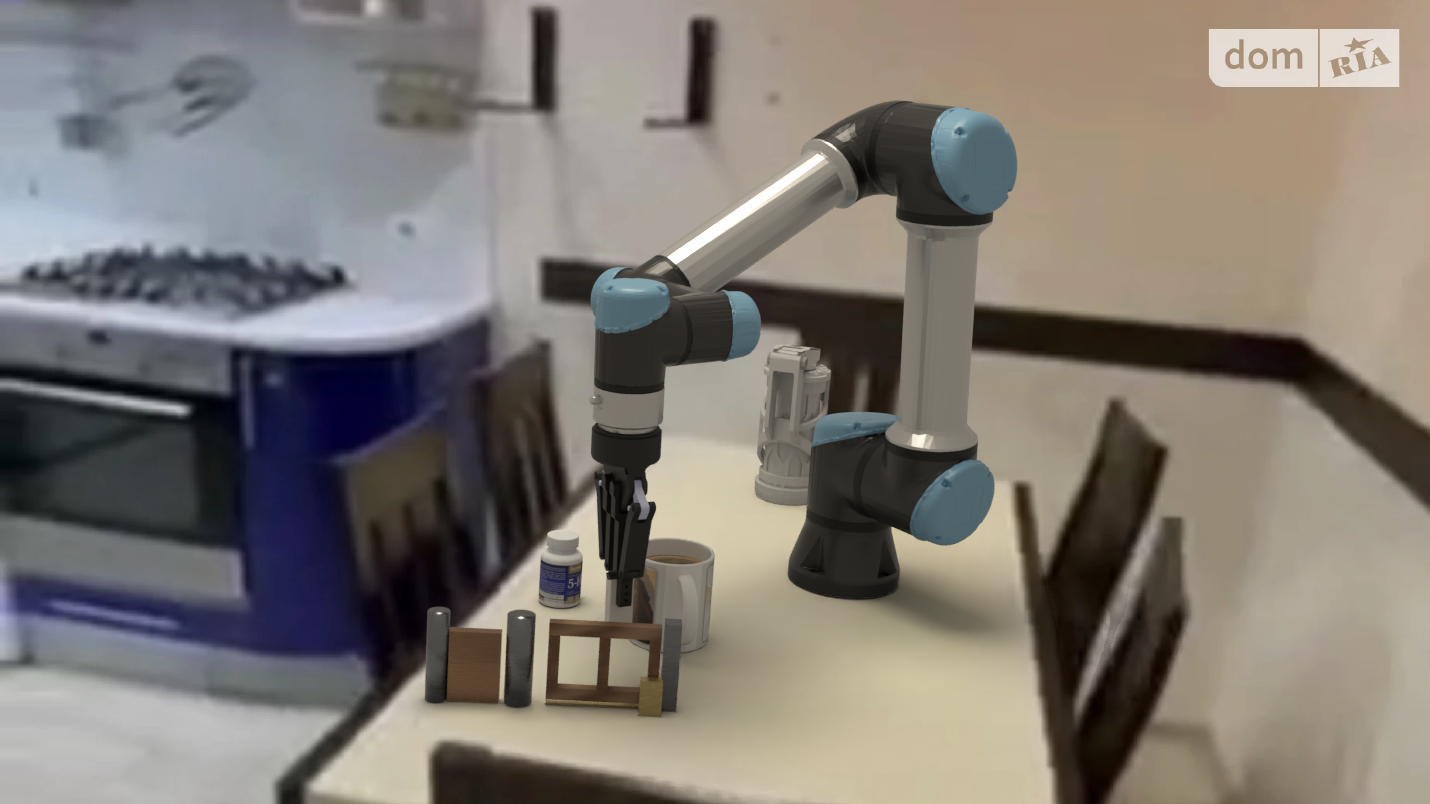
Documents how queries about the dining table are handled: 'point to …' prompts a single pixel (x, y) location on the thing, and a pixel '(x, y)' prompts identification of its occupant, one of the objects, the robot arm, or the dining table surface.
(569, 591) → the pill bottle
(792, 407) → the lantern
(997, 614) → the dining table surface
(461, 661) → the fence
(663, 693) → the block
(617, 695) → the gate
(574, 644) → the dining table surface
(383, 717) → the dining table surface
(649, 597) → the mug
